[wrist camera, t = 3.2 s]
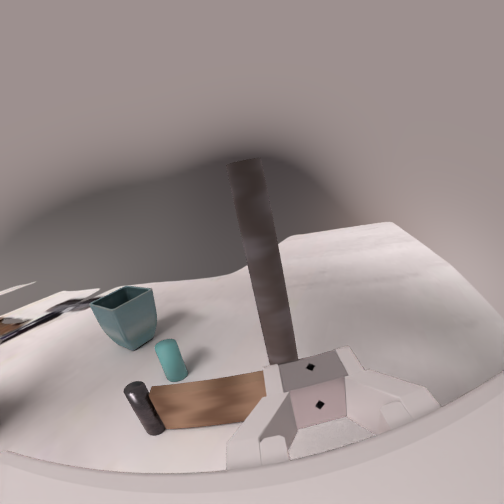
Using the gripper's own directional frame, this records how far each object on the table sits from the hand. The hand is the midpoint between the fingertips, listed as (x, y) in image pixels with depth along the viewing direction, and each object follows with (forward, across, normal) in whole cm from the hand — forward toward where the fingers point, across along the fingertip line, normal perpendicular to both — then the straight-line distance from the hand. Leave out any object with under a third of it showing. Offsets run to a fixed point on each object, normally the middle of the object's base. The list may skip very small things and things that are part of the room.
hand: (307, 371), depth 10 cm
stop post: (+25, +15, +16) cm, 33 cm away
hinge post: (+14, +16, +16) cm, 26 cm away
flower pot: (+36, +24, +16) cm, 47 cm away
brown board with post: (+14, +7, +15) cm, 22 cm away
